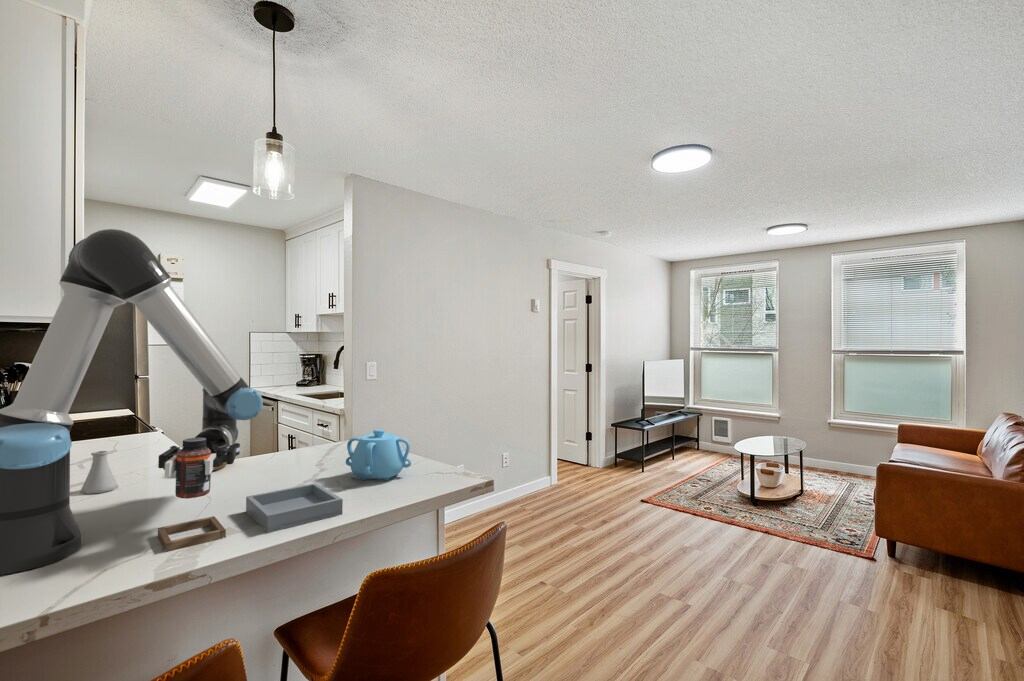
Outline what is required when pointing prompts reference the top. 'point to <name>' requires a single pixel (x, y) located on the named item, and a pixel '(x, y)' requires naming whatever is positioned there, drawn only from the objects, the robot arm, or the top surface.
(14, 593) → the top surface
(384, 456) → the decorative pot
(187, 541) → the rectangular wooden frame
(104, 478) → the flask
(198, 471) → the supplement bottle
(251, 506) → the tray
